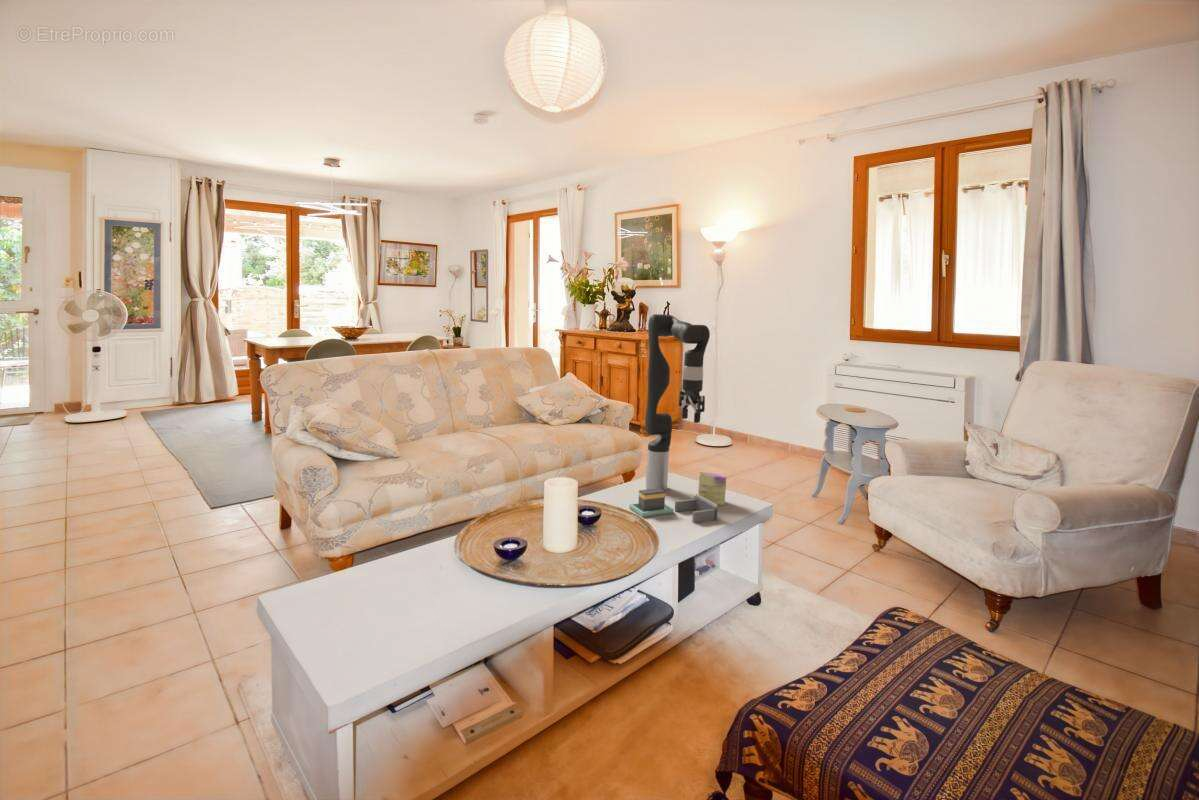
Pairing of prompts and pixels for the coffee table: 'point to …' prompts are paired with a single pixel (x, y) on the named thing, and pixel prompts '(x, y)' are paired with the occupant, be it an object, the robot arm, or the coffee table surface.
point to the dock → (698, 508)
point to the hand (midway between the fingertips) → (690, 420)
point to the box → (712, 487)
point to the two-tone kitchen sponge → (651, 499)
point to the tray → (664, 511)
